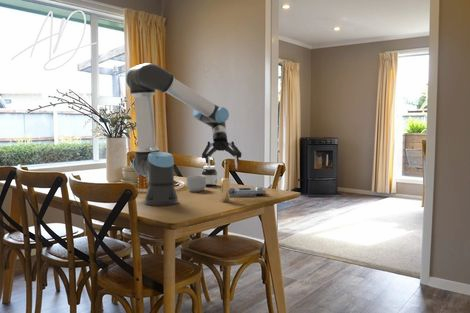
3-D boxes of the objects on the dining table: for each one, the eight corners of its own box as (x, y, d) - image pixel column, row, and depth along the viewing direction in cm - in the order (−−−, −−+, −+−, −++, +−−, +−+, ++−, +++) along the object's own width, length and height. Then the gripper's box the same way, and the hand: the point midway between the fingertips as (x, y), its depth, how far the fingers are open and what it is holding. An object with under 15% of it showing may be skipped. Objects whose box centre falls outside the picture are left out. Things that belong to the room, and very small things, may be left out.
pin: (221, 202, 193) (221, 179, 192) (220, 200, 197) (220, 178, 196) (230, 202, 194) (230, 179, 193) (229, 200, 197) (229, 178, 196)
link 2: (236, 196, 207) (236, 189, 207) (233, 193, 217) (233, 186, 217) (265, 196, 209) (265, 189, 209) (261, 192, 219) (261, 186, 219)
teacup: (202, 192, 218) (202, 178, 218) (183, 192, 220) (183, 177, 220) (209, 188, 232) (209, 174, 231) (191, 188, 234) (191, 174, 233)
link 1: (226, 197, 206) (226, 190, 206) (224, 193, 216) (224, 186, 216) (256, 196, 208) (256, 189, 208) (252, 192, 218) (252, 186, 218)
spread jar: (212, 187, 235) (211, 167, 234) (194, 186, 239) (194, 166, 238) (220, 184, 246) (220, 165, 245) (203, 183, 250) (203, 164, 249)
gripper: (242, 140, 222) (246, 171, 209) (196, 141, 219) (197, 172, 206) (243, 131, 217) (248, 162, 203) (196, 131, 213) (198, 163, 200)
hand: (223, 167), depth 204 cm, fingers open, 13 cm apart
